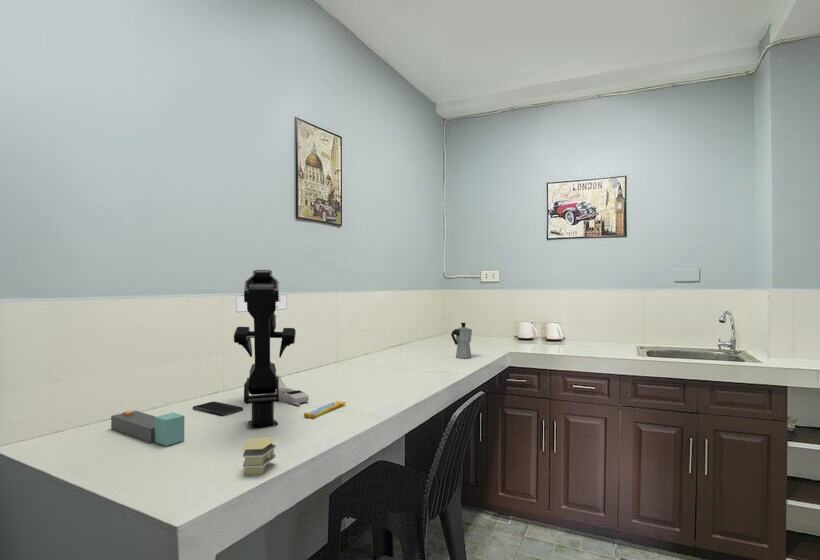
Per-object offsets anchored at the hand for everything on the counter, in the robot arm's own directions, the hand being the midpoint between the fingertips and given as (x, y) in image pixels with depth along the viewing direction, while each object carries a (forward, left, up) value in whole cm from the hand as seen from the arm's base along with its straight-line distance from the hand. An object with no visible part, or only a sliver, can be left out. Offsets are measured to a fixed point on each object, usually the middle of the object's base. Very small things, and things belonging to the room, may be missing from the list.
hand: (265, 356), depth 152 cm
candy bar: (-25, -11, -15) cm, 31 cm away
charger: (-30, +31, -14) cm, 45 cm away
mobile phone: (-3, -6, -14) cm, 16 cm away
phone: (-6, +16, -15) cm, 22 cm away
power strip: (-19, +36, -14) cm, 43 cm away
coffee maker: (+32, -107, -14) cm, 113 cm away
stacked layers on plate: (-58, +16, -15) cm, 62 cm away
